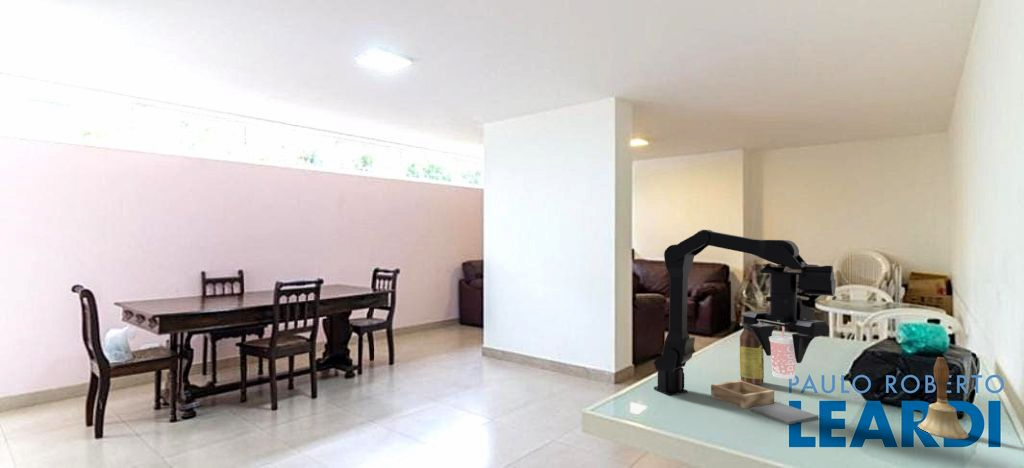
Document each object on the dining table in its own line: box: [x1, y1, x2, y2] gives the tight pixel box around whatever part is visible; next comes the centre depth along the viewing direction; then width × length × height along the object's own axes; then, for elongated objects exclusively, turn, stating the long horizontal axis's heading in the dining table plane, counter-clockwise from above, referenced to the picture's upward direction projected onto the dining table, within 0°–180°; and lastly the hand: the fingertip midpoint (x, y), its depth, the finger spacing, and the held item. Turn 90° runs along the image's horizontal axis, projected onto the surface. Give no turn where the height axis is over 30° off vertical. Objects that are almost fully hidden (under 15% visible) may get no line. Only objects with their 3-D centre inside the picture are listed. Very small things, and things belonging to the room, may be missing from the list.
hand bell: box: [917, 356, 969, 440], centre depth 109 cm, size 8×8×16 cm
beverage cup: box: [769, 326, 797, 380], centre depth 119 cm, size 6×6×14 cm
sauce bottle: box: [738, 312, 765, 386], centre depth 145 cm, size 7×6×20 cm
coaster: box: [750, 402, 819, 425], centre depth 119 cm, size 10×10×1 cm
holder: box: [710, 379, 775, 409], centre depth 130 cm, size 10×10×3 cm
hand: (783, 359), depth 119 cm, fingers closed on beverage cup, 7 cm apart
